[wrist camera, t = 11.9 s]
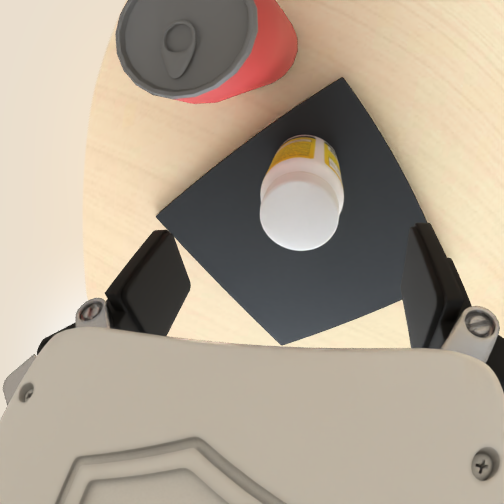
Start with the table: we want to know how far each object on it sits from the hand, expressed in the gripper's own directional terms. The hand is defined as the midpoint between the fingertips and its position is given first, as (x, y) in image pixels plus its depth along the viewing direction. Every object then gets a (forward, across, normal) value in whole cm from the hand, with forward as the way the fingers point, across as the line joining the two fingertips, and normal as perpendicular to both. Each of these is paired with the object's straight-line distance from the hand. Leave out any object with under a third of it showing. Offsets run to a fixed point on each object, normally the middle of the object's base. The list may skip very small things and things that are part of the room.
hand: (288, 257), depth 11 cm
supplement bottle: (+12, 0, +1) cm, 13 cm away
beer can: (+13, +3, -9) cm, 16 cm away
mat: (+13, 0, +8) cm, 15 cm away
